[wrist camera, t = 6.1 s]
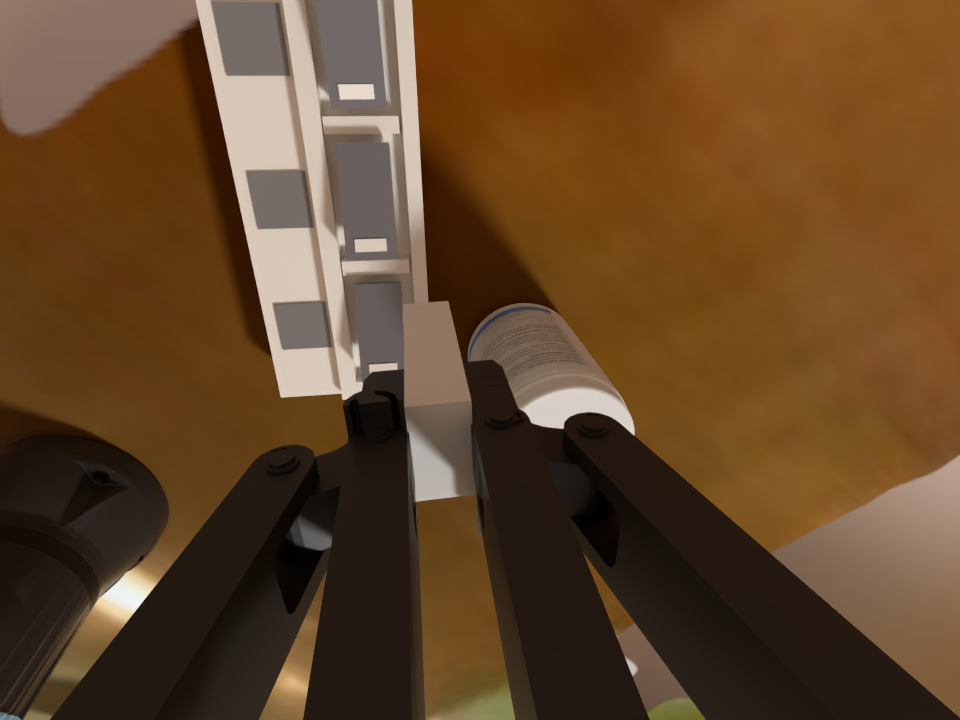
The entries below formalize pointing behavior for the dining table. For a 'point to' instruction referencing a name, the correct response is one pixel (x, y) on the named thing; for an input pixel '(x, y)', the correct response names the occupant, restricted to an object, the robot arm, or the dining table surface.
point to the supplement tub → (546, 366)
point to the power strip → (312, 178)
